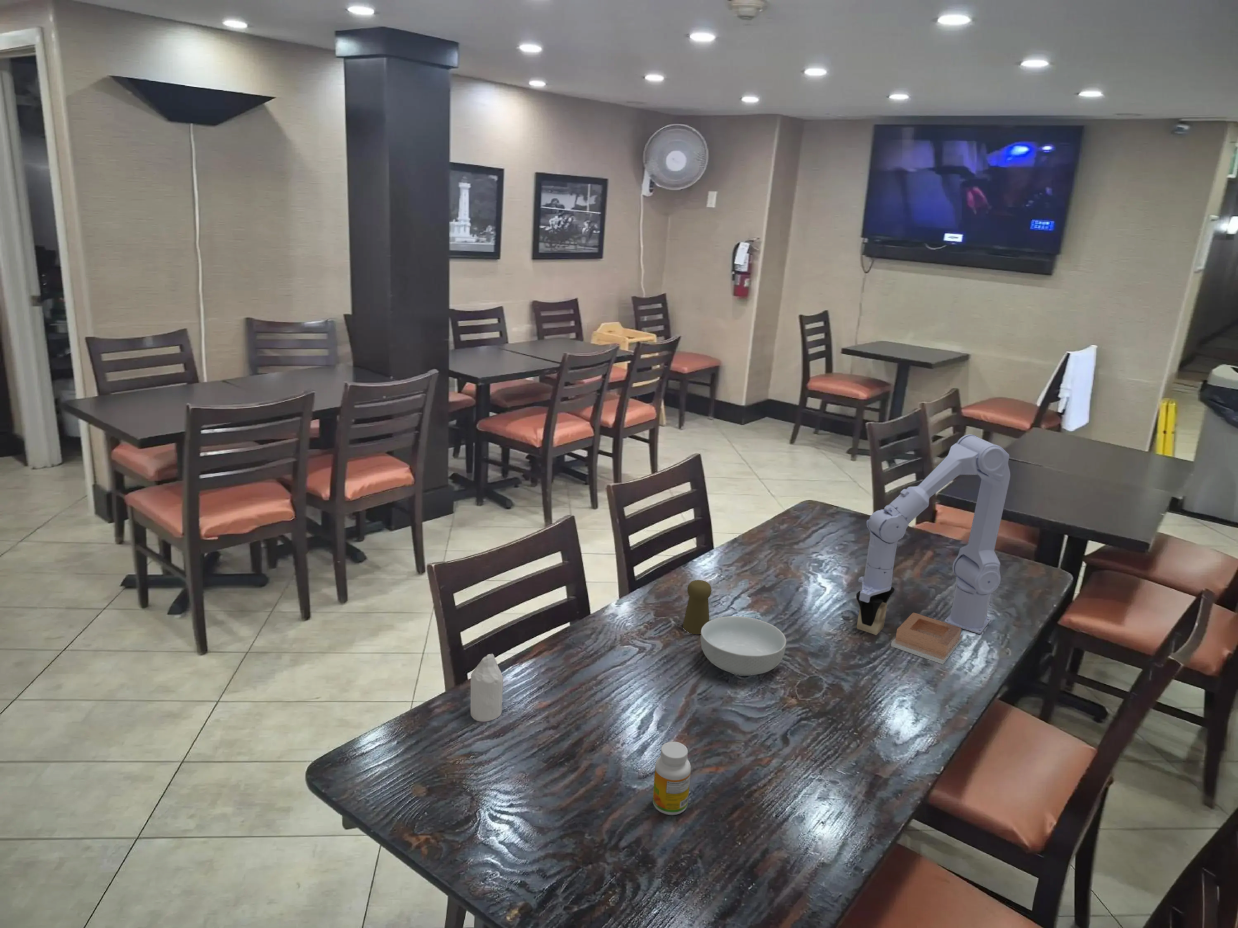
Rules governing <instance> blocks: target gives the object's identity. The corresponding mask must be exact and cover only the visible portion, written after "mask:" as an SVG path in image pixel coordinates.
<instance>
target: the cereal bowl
mask: <svg viewBox="0 0 1238 928" xmlns="http://www.w3.org/2000/svg"><path fill="white" fill-rule="evenodd" d="M699 639H700V645H701V649H702V652H703V655H705V657H706V658H707V660H708V661H709V662H710V663H711V664H712V665H714V666H715V667H717V668H718V669H721V670H722V671H726V672H727V673H729V674H732V675H735V676H741V677H742V676H743V677H749V676H755V675H762V674H765V673H768V672H770V671H771V670H773V669H775V668H777V666H778V665H779V664H780V663H781V662H782V661H783V660H782V659H784V656H785V654H786V647H787V637H786V636H785V634H784V633H783V631H781V630H780V629H779V628H778V627H776V626H775V625H773V624H771V623H769V622H767V621H764V620H760V619H757V618H753V617H750V616H749V617H748V616H739V615H738V616H737V615H732V616H730V615H729V616H721V617H716V618H713V619H711V620H709V622H707V623H706V624H705V625H704V626H703V627H702V629H701V635H700V638H699Z"/></svg>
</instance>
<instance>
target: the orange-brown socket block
mask: <svg viewBox="0 0 1238 928" xmlns="http://www.w3.org/2000/svg"><path fill="white" fill-rule="evenodd" d="M961 632H962V628H960V627H957V626H954V625H951V624H948V623H945V622H944V621H941V620H939V619H935V618H932V617H929V616H925V615H922V614H919V613H916V612H912V613H911V614H910V615H909V616H908V617H907V618H906V619H905V620H904V621H903V622H902V623H901V625H899V626H898V627H897V629H896V634H895V638H894V639H893V640H892V641H891V642H890V643H891V644H890V647H892V648H895V649H898V650H901V651H904V652H906V653H909V654H912V655H915V656H918V657H921V658H923V659H926V660H930V661H932V662H935V663H937V664H941V665H945V663H946V662H947V660H948V659H949V657H950V656H951V655H952V653H953V652H954V651H955V649H957V648H958V646H959V644H961V642H962V640H963V638H964V637H963V636H964V635H962V634H961Z"/></svg>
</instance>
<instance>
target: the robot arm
mask: <svg viewBox="0 0 1238 928" xmlns="http://www.w3.org/2000/svg"><path fill="white" fill-rule="evenodd" d="M1009 459H1010V454H1009V453H1008V452H1007V451H1006V450H1005V449H1004V448H1003V447H1002V446H1001V445H999V444H998V445H997V444H995V443H992V442H990V441H987V440H985V439H983V438H981V437H979V436H977V435H975V434H971V433H970V434H969V433H968V434H965V435H963V436H962V437H960V438H959V439H958V440H957V442H956V443H954V444H953V445H951V446H950V448H949V451H948V454H947V456H946V457H945V458H944V459H943V460H942V461H941V462H940V463H939V464H938V465H937V466H935V468H934V469H933V470H932V471H931V472H930V473H929V474H928V475H927V476H926V477H925V478H924V479H923V480H922V481H921V482H920V483H919V484H918V485H917V486H908V487H907V488H903V489H902V490H901V491H900V494H899V495H898V496H897V497H895V499H893V500H892V501H891V502H890V503H888V504H887V505H885V507H884V509H880V510H879V509H877V510H876V511H874V512H873V513H872V514H871V515H870V516H869V519H867V520H866V527H867V529H868V531H869V542H868V548H867V556H866V562H865V568H864V569H865V570H864V575H863V576H860V577H858V580H857V581H858V582H859V583H861V591H860V590H859V591H857V593H856V596H855V599H856V600H857V602H858V605H859V609H860V610H861V619H862V624H865V625H868V626H872V624H873V622H874V619H875V616H876V613H877V610H878V608H879V606H880V605H881V603H882V602H884V603H887V602H888V601H889V599H890V597H892V595H893V593H894V592H895V591H896V590H895V587H893V586H892V581H893V576H894V574H893V571H894V566H895V560H896V553H897V546H898V541H899V540H901V539H903V538H904V537H905V534H906V531H907V528H908V527H909V525H910V523H911V522H912V521H913V520H915V519H916V518H917V517H918V516H919V515H920V514H921V513H922V512H924V511H925V510H926V509H927V508H928V507H930V506H929V505H930V498H931V497H932V496H933V495H935V494H937V492H939V491H940V490H941V489H943V488H944V487H946V486H947V485H948V484H949V483H950V482H952V481H953V480H955V478H957V477H959V476H963V475H966V476H972V475H973V476H974V475H975V476H976V475H977V476H979V478H980V480H981V481H980V485H979V490H978V494H977V500H976V504H975V508H974V513H973V517H972V523H971V528H970V533H969V538H968V542H967V544H966V545H964V546H962V547H960V548H959V550H958V555H957V557H956V558H955V559H954V560H953V562H952V563H953V564H952V573H953V574H954V576H956V577H955V582H956V584H955V590H954V594H953V595H954V596H953V601H952V606H951V611H950V614H948V616H947V617H946V618H945V619H944V621H943V622H945V623H948V624H951V625H954V626H957V627H960V628H961V630H962V629H963V630H966V631H968V632H972V633H976V634H979V635H980V634H982V633H983V631H984V630H985V629H986V627H987V626H988V624H989V623H990V622H991V620H992V618H991V617H989V616H988V611H989V607H990V601H991V597H992V594H993V592H995V591H996V590H997V589H998V587H999V586H1000V584H1001V580H1002V577H1001V576H1002V575H1001V573H1000V570H1001V569H1000V567H1001V562H1000V559H999V558H998V556H997V554H996V552H995V550H996V549H995V548H996V543H997V539H998V534H999V530H1000V525H1001V522H1002V517H1003V511H1004V507H1005V502H1006V498H1007V493H1008V489H1009V486H1010V480H1011V470H1010V467H1009ZM887 604H888V603H887Z"/></svg>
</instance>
